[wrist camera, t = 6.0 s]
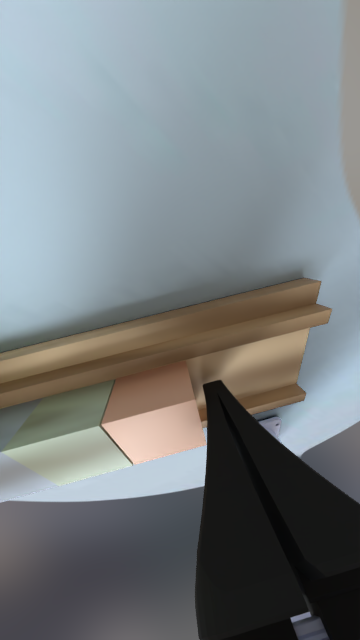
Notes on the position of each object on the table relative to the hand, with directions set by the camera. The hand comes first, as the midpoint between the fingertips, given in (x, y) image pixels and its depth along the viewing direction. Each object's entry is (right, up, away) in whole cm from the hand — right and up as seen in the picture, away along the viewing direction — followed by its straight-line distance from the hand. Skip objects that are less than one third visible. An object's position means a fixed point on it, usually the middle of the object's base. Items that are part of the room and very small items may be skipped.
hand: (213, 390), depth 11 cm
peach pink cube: (-4, 0, +1) cm, 4 cm away
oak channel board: (-5, 0, +2) cm, 6 cm away
